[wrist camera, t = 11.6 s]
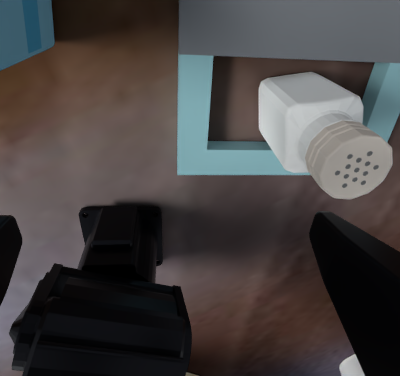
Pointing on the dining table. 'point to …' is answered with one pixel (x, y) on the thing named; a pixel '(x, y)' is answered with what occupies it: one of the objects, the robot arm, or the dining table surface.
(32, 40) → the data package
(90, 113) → the dining table surface
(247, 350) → the dining table surface
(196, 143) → the panel
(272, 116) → the white salt shaker
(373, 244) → the robot arm
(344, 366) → the foam cup
